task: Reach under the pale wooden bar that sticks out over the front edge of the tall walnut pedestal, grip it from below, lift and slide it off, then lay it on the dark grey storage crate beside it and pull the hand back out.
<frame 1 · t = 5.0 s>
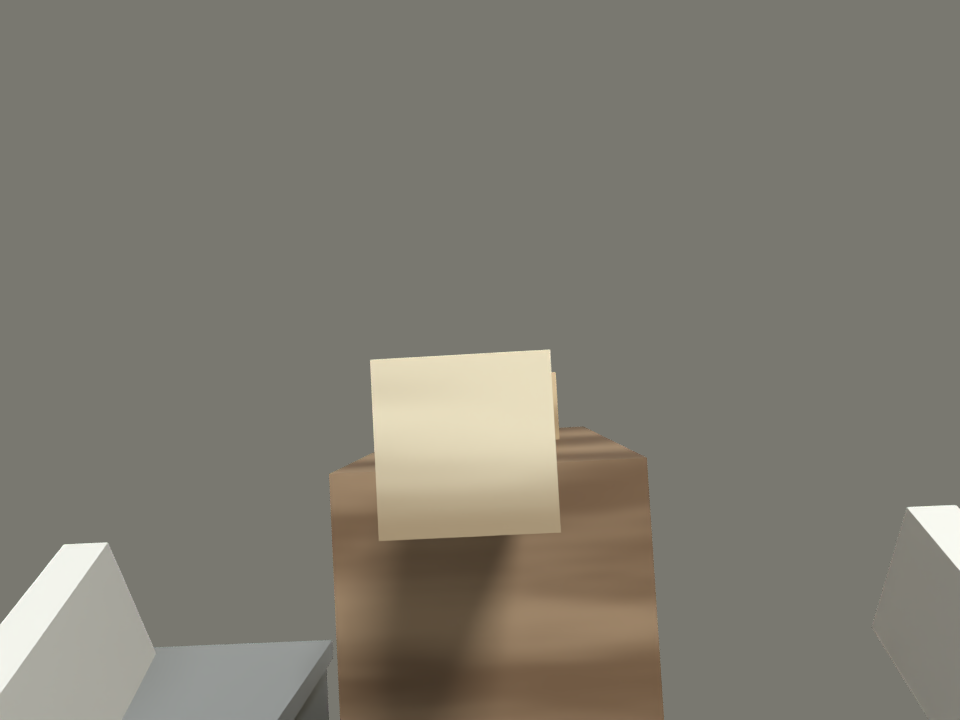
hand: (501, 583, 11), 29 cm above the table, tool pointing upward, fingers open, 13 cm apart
pale wooden bar: (489, 456, 24), point 30 cm above the table, touching walnut pedestal
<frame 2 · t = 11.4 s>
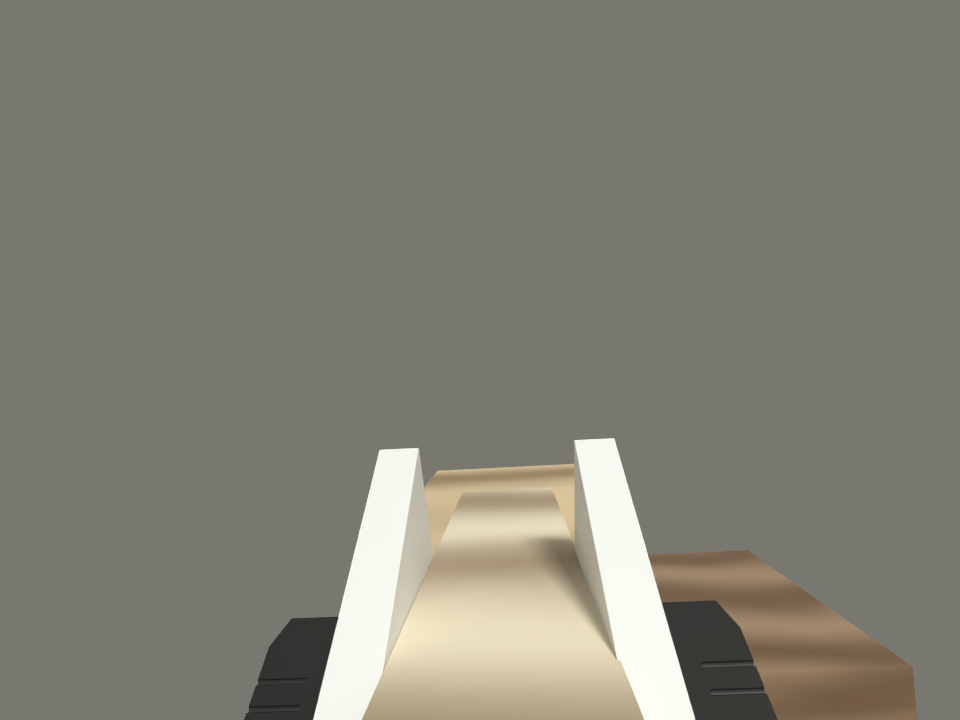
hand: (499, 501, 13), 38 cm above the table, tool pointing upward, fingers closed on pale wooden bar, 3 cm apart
pale wooden bar: (512, 651, 16), point 34 cm above the table, touching gripper
when the fingers open (25 cm above the table, at t = 15.6 s): pale wooden bar drops 1 cm, resting on grey storage crate.
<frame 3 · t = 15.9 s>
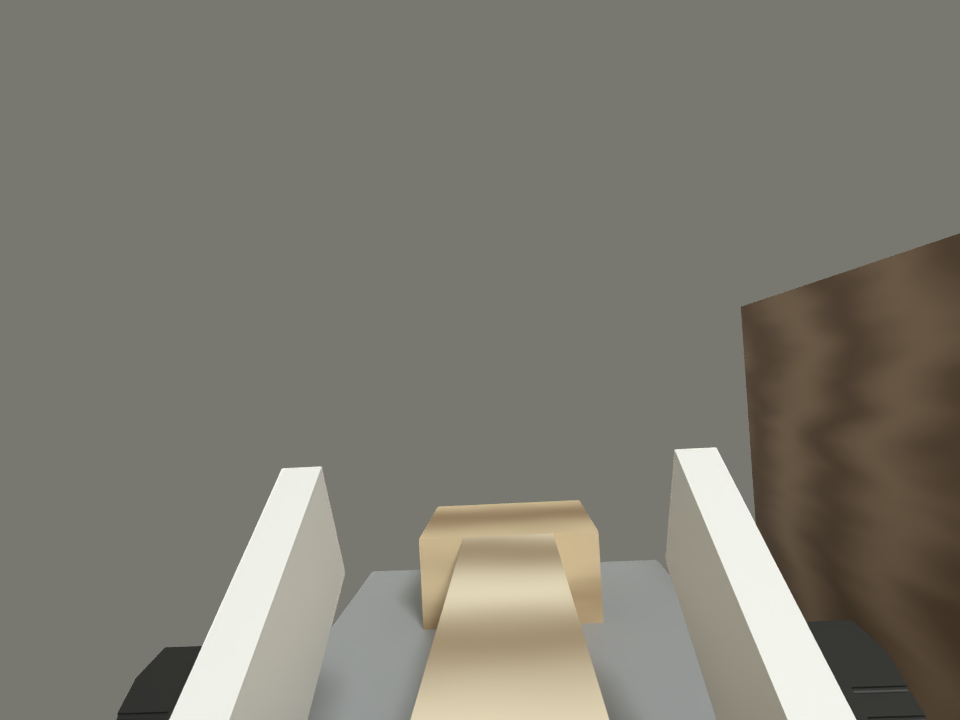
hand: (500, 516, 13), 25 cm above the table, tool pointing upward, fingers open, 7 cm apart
pale wooden bar: (514, 715, 16), point 19 cm above the table, touching grey storage crate
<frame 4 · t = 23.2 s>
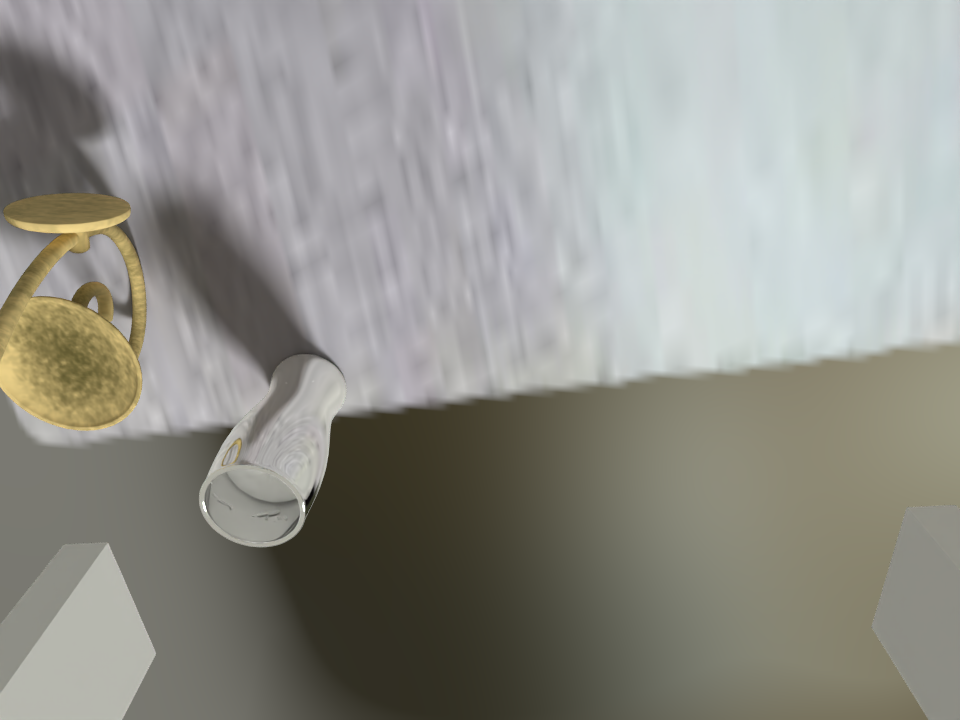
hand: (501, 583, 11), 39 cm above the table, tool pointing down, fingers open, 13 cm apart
beer glass: (310, 384, 55), on the table
wall sconce: (139, 273, 50), on the table
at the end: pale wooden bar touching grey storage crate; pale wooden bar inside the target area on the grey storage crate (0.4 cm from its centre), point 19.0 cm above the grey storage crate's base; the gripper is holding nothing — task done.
